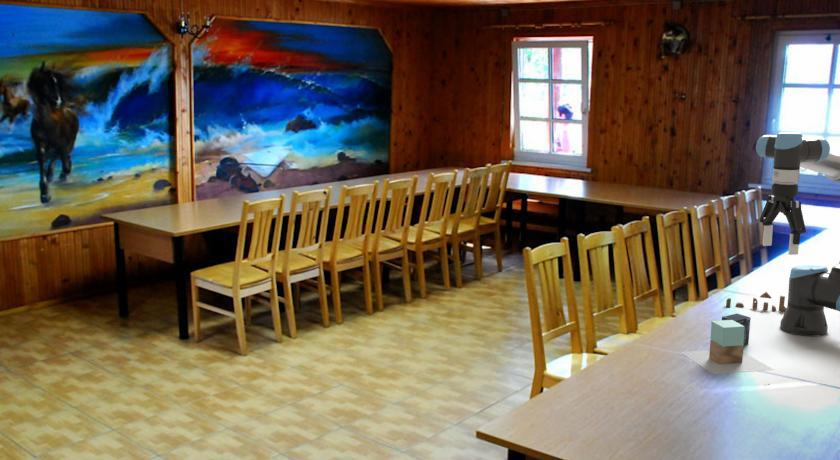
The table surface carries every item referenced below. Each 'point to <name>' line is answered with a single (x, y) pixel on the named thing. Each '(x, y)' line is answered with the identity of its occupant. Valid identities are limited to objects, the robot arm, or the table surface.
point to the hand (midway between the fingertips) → (779, 249)
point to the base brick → (725, 353)
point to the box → (743, 321)
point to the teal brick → (727, 333)
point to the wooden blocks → (765, 306)
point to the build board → (714, 368)
